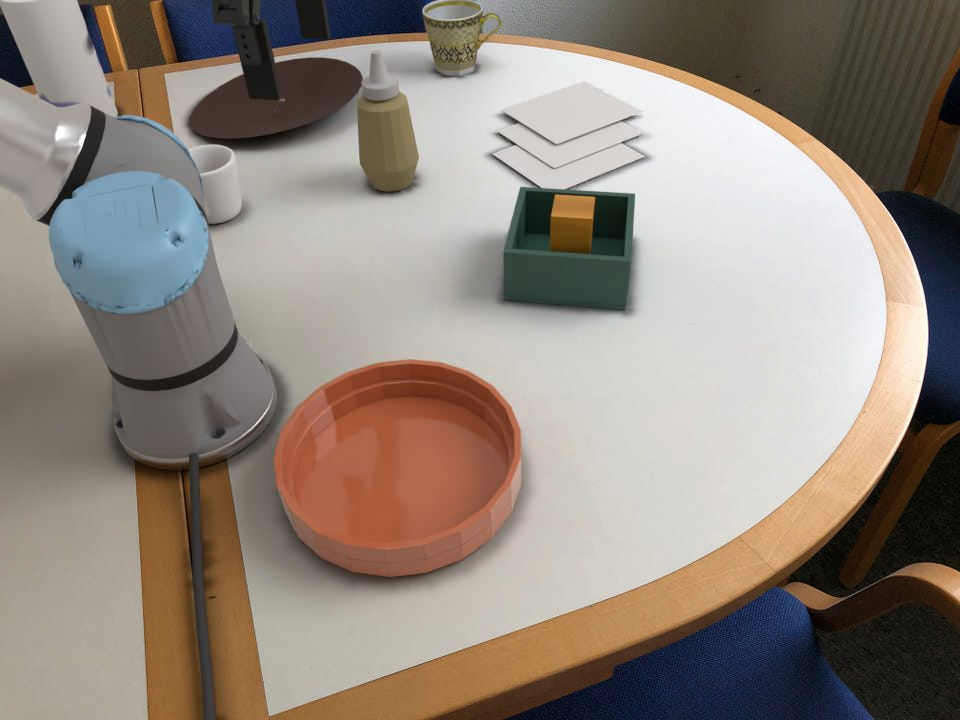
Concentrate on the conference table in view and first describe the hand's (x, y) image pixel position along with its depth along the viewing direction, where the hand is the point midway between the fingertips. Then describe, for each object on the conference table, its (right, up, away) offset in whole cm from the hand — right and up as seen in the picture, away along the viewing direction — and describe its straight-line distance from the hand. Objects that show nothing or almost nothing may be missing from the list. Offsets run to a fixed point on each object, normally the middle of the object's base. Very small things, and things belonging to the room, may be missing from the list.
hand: (292, 65), depth 73 cm
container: (-46, +11, +54) cm, 71 cm away
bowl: (+10, -38, -2) cm, 39 cm away
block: (+28, -16, +20) cm, 38 cm away
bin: (+28, -16, +20) cm, 38 cm away
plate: (-15, +13, +54) cm, 58 cm away
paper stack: (+31, +6, +44) cm, 54 cm away
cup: (-18, -9, +31) cm, 37 cm away
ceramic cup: (+15, +23, +63) cm, 69 cm away
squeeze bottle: (+5, -3, +36) cm, 37 cm away
